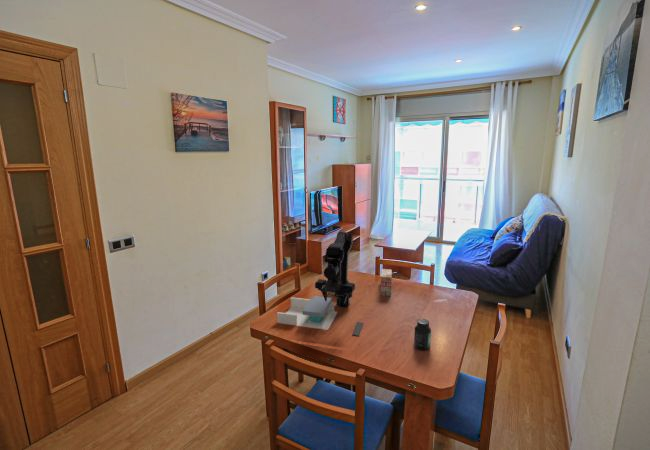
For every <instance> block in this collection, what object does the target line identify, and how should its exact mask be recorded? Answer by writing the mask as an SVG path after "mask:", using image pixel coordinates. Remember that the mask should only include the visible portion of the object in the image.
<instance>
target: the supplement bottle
mask: <svg viewBox="0 0 650 450" xmlns="http://www.w3.org/2000/svg"><path fill="white" fill-rule="evenodd" d="M413 336H414V337H413V346H414V348H415V349H417V350H419V351H428V350H430V348H431V340H432V339H431V336H432V329H431V327H430V322H429V320H428V319H425V318H419V319H417V321H416V325H415V326H414V334H413Z"/></svg>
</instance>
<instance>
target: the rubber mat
mask: <svg viewBox="0 0 650 450" xmlns="http://www.w3.org/2000/svg"><path fill="white" fill-rule="evenodd" d="M363 326H364V322H361V321H357V322H356V325H355V327H354V330H353V331H352V336H354V337H355V336H356V337H360V335H361V332H362V329H363Z"/></svg>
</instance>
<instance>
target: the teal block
mask: <svg viewBox="0 0 650 450" xmlns="http://www.w3.org/2000/svg"><path fill="white" fill-rule="evenodd" d="M322 319H323V317H316V316H311V322H318V323H320V322H321V321H322Z"/></svg>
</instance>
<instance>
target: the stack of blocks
mask: <svg viewBox="0 0 650 450" xmlns="http://www.w3.org/2000/svg"><path fill="white" fill-rule="evenodd" d="M392 272H393V271H392V269H387V268H382V269H381V274H380V290H379V291H380V293H379V294H380V296H381V297H392V281H393V280H392V279H393V275H392Z"/></svg>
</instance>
